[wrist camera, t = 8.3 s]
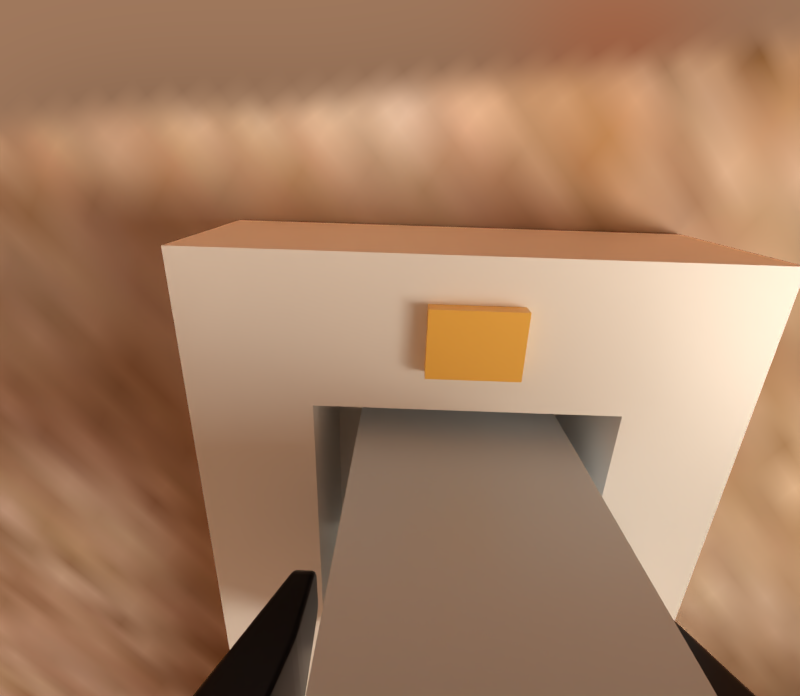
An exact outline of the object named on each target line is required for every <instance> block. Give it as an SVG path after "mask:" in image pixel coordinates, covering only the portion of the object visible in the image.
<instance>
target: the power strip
mask: <svg viewBox="0 0 800 696" xmlns="http://www.w3.org/2000/svg"><path fill="white" fill-rule="evenodd" d="M161 249H162V255H163V261H164V267H165V273H166V279H167V284H168V290H169V296H170V302H171V308H172V314H173V320H174V326H175V332H176V337H177V343H178V349H179V355H180V361H181V367H182V373H183V379H184V384H185V390H186V396H187V402H188V408H189V414H190V420H191V426H192V432H193V437H194V443H195V449H196V455H197V461H198V467H199V473H200V479H201V484H202V490H203V496H204V502H205V508H206V514H207V520H208V526H209V532H210V537H211V543H212V549H213V555H214V561H215V567H216V573H217V579H218V585H219V590H220V596H221V602H222V608H223V614H224V620H225V626H226V632H227V637H228V643H229V649H231V648H232V646H233V645H234V644H235V643H236V641H237V640H238V639H239V638H240V636H241V635H242V634H243V633H244V631H245V630H246V629H247V628H248V626H249V625H250V624H251V623H252V621H253V620H254V619H255V618H256V616H257V615H258V614H259V613H260V611H261V610H262V609H263V608H264V606H265V605H266V604H267V603H268V601H269V600H270V599H271V598H272V596H273V595H274V594H275V593H276V591H277V590H278V589H279V588H280V586H281V585H282V584H283V583H284V581H285V580H286V579H287V578H288V576H289V575H290V574H291V573H292V572H293V571H295V570H312V571H314V572H315V573H316V576H317V592H318V612H317V620H316V626H315V633H314V640H313V646H312V653H311V660H310V666H309V673H308V680H307V686H308V681H309V676H310V671H311V666H312V661H313V656H314V651H315V645H316V640H317V635H318V630H319V625H320V620H321V615H322V610H323V605H324V600H325V595H326V589H327V584H328V579H329V574H330V569H331V564H332V559H333V554H334V549H335V544H336V539H337V533H338V528H339V523H340V518H341V513H342V508H343V503H344V498H345V493H346V488H347V482H348V477H349V472H350V467H351V462H352V457H353V452H354V447H355V442H356V437H357V432H358V426H359V421H360V416H361V411H362V407H370V408H397V409H425V410H453V411H481V412H509V413H537V414H554V415H555V416H556V418H557V420H558V422H559V423H560V425H561V427H562V429H563V430H564V432H565V434H566V435H567V437H568V439H569V441H570V442H571V444H572V446H573V448H574V449H575V451H576V453H577V454H578V456H579V458H580V460H581V461H582V463H583V465H584V467H585V468H586V470H587V472H588V473H589V475H590V477H591V479H592V480H593V482H594V484H595V486H596V487H597V489H598V491H599V492H600V494H601V496H602V498H603V499H604V501H605V503H606V505H607V506H608V508H609V510H610V511H611V513H612V515H613V517H614V518H615V520H616V522H617V523H618V525H619V527H620V529H621V530H622V532H623V534H624V536H625V537H626V539H627V541H628V542H629V544H630V546H631V548H632V549H633V551H634V553H635V555H636V556H637V558H638V560H639V561H640V563H641V565H642V567H643V568H644V570H645V572H646V574H647V575H648V577H649V579H650V580H651V582H652V584H653V586H654V587H655V589H656V591H657V593H658V594H659V596H660V598H661V599H662V601H663V603H664V605H665V606H666V608H667V610H668V612H669V613H670V615H671V617H672V618H673V620H674V621H675V619H676V616H677V613H678V611H679V608H680V605H681V603H682V600H683V597H684V595H685V592H686V589H687V587H688V584H689V581H690V579H691V576H692V573H693V571H694V568H695V565H696V563H697V560H698V557H699V555H700V552H701V549H702V547H703V544H704V541H705V538H706V536H707V533H708V530H709V528H710V525H711V522H712V520H713V517H714V514H715V512H716V509H717V506H718V504H719V501H720V498H721V496H722V493H723V490H724V488H725V485H726V482H727V480H728V477H729V474H730V472H731V469H732V466H733V464H734V461H735V458H736V456H737V453H738V450H739V448H740V445H741V442H742V440H743V437H744V434H745V432H746V429H747V426H748V424H749V421H750V418H751V416H752V413H753V410H754V408H755V405H756V402H757V400H758V397H759V394H760V392H761V389H762V386H763V384H764V381H765V378H766V376H767V373H768V370H769V368H770V365H771V362H772V360H773V357H774V354H775V352H776V349H777V346H778V344H779V341H780V338H781V336H782V333H783V330H784V328H785V325H786V322H787V320H788V317H789V314H790V312H791V309H792V306H793V304H794V301H795V298H796V296H797V293H798V290H799V288H800V265H798V264H794V263H790V262H786V261H782V260H778V259H775V258H771V257H767V256H763V255H759V254H755V253H751V252H747V251H743V250H740V249H736V248H732V247H728V246H724V245H720V244H716V243H712V242H708V241H704V240H701V239H697V238H693V237H689V236H685V235H681V234H655V233H625V232H594V231H563V230H533V229H502V228H472V227H441V226H411V225H380V224H350V223H319V222H289V221H258V220H238V221H235V222H232V223H229V224H225V225H222V226H219V227H216V228H213V229H210V230H207V231H204V232H201V233H198V234H195V235H191V236H188V237H185V238H182V239H179V240H176V241H173V242H170V243H167V244H164V245H161ZM307 686H306V691H307ZM305 696H306V693H305Z"/></svg>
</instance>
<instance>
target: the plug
mask: <svg viewBox="0 0 800 696" xmlns="http://www.w3.org/2000/svg"><path fill="white" fill-rule="evenodd" d="M306 696H717V694H716V693H715V691H714V689H713V688H712V686H711V684H710V682H709V681H708V679H707V677H706V675H705V674H704V672H703V670H702V669H701V667H700V665H699V663H698V662H697V660H696V658H695V656H694V655H693V653H692V651H691V650H690V648H689V646H688V644H687V643H686V641H685V639H684V637H683V636H682V634H681V632H680V631H679V629H678V627H677V625H676V624H675V622H674V620H673V618H672V617H671V615H670V613H669V612H668V610H667V608H666V606H665V605H664V603H663V601H662V599H661V598H660V596H659V594H658V593H657V591H656V589H655V587H654V586H653V584H652V582H651V580H650V579H649V577H648V575H647V574H646V572H645V570H644V568H643V567H642V565H641V563H640V561H639V560H638V558H637V556H636V555H635V553H634V551H633V549H632V548H631V546H630V544H629V542H628V541H627V539H626V537H625V536H624V534H623V532H622V530H621V529H620V527H619V525H618V523H617V522H616V520H615V518H614V517H613V515H612V513H611V511H610V510H609V508H608V506H607V505H606V503H605V501H604V499H603V498H602V496H601V494H600V492H599V491H598V489H597V487H596V486H595V484H594V482H593V480H592V479H591V477H590V475H589V473H588V472H587V470H586V468H585V467H584V465H583V463H582V461H581V460H580V458H579V456H578V454H577V453H576V451H575V449H574V448H573V446H572V444H571V442H570V441H569V439H568V437H567V435H566V434H565V432H564V430H563V429H562V427H561V425H560V423H559V422H558V420H557V418H556V416H555V415H554V414H537V413H509V412H481V411H453V410H425V409H397V408H370V407H362V411H361V416H360V421H359V426H358V432H357V437H356V442H355V447H354V452H353V457H352V462H351V467H350V472H349V477H348V482H347V488H346V493H345V498H344V503H343V508H342V513H341V518H340V523H339V528H338V533H337V539H336V544H335V549H334V554H333V559H332V564H331V569H330V574H329V579H328V584H327V589H326V595H325V600H324V605H323V610H322V615H321V620H320V625H319V630H318V635H317V640H316V645H315V651H314V656H313V661H312V666H311V671H310V676H309V681H308V686H307V691H306Z"/></svg>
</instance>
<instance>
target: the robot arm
mask: <svg viewBox="0 0 800 696" xmlns="http://www.w3.org/2000/svg"><path fill="white" fill-rule="evenodd" d="M317 612H318V592H317V576H316V573H315V572H314V571H312V570H295V571H293V572H292V573H291V574H290V575H289V576H288V578H287V579H286V580H285V581H284V583H283V584H282V585H281V586H280V588H279V589H278V590H277V591H276V593H275V594H274V595H273V596H272V598H271V599H270V600H269V601H268V603H267V604H266V605H265V606H264V608H263V609H262V610H261V611H260V613H259V614H258V615H257V616H256V618H255V619H254V620H253V621H252V623H251V624H250V625H249V626H248V628H247V629H246V630H245V631H244V633H243V634H242V635H241V636H240V638H239V639H238V640H237V641H236V643H235V644H234V645H233V646H232V648H231V649H230V650H229V651H228V653H227V654H226V655H225V656H224V658H223V659H222V660H221V661H220V663H219V664H218V665H217V666H216V668H215V669H214V670H213V671H212V673H211V674H210V675H209V676H208V678H207V679H206V680H205V682H204V683H203V684H202V685H201V687H200V688H199V689H198V690H197V692H196V693H195V694H194V695H193V696H305V693H306V686H307V680H308V673H309V666H310V660H311V653H312V646H313V640H314V633H315V626H316V620H317ZM674 622H675V621H674ZM675 624H676V625H677V627H678V629H679V631H680V632H681V634H682V636H683V637H684V639H685V641H686V643H687V644H688V646H689V648H690V650H691V651H692V653H693V655H694V656H695V658H696V660H697V662H698V663H699V665H700V667H701V669H702V670H703V672H704V674H705V675H706V677H707V679H708V681H709V682H710V684H711V686H712V688H713V689H714V691H715V693H716V694H717V696H755V695H754V694H753V693H752V692H751V691H750V690H749V689H748V688H747V687H745V686H744V685H743V684H742V683H741V682H740V681H739V680H738V679H737V678H736V677H735V676H734V675H733V674H731V673H730V672H729V671H728V670H727V669H726V668H725V667H724V666H723V665H722V664H721V663H720V662H718V661H717V660H716V659H715V658H714V657H713V656H712V655H711V654H710V653H709V652H708V651H707V650H705V649H704V648H703V647H702V646H701V645H700V644H699V643H698V642H697V641H696V640H695V639H694V638H692V637H691V636H690V635H689V634H688V633H687V632H686V631H685V630H684V629H683V628H682V627H681V626H679V625H678V624H677V623H676V622H675Z"/></svg>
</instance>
